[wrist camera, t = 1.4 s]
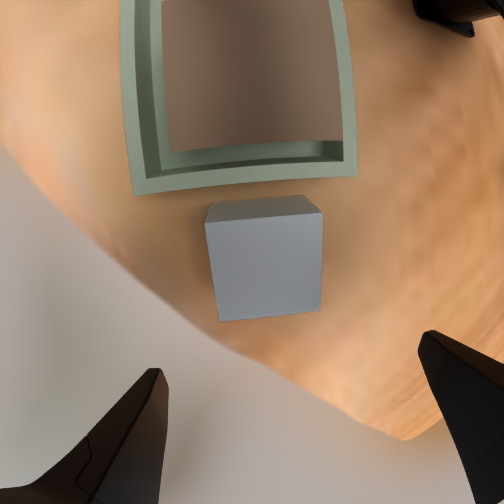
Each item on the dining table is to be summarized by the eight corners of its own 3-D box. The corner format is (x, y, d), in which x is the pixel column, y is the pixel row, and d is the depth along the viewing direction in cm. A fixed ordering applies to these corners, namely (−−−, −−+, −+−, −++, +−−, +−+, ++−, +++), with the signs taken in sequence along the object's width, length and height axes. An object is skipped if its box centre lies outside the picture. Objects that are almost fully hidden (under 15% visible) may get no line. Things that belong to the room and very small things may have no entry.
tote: (308, -48, 11) (322, -76, 8) (333, 167, 18) (357, 176, 14) (142, -36, 11) (127, -62, 7) (153, 183, 18) (134, 196, 14)
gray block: (302, 194, 19) (322, 213, 15) (304, 276, 21) (320, 310, 17) (210, 202, 19) (204, 223, 14) (221, 284, 21) (219, 321, 17)
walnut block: (298, 32, 14) (327, -6, 8) (307, 137, 16) (343, 140, 11) (182, 40, 14) (161, 1, 8) (191, 146, 16) (171, 152, 11)
